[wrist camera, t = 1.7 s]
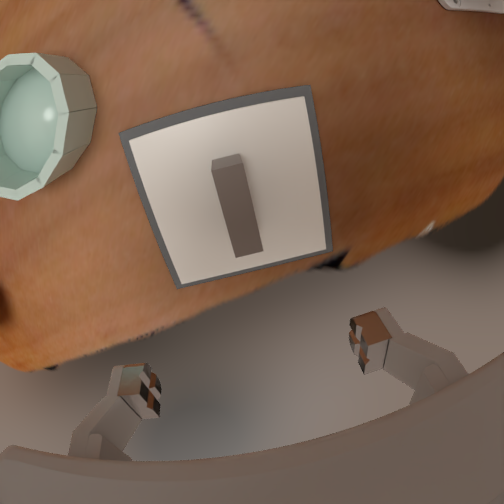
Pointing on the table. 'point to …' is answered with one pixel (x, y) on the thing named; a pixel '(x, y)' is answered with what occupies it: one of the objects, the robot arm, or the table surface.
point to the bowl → (41, 120)
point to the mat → (214, 109)
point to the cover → (234, 188)
